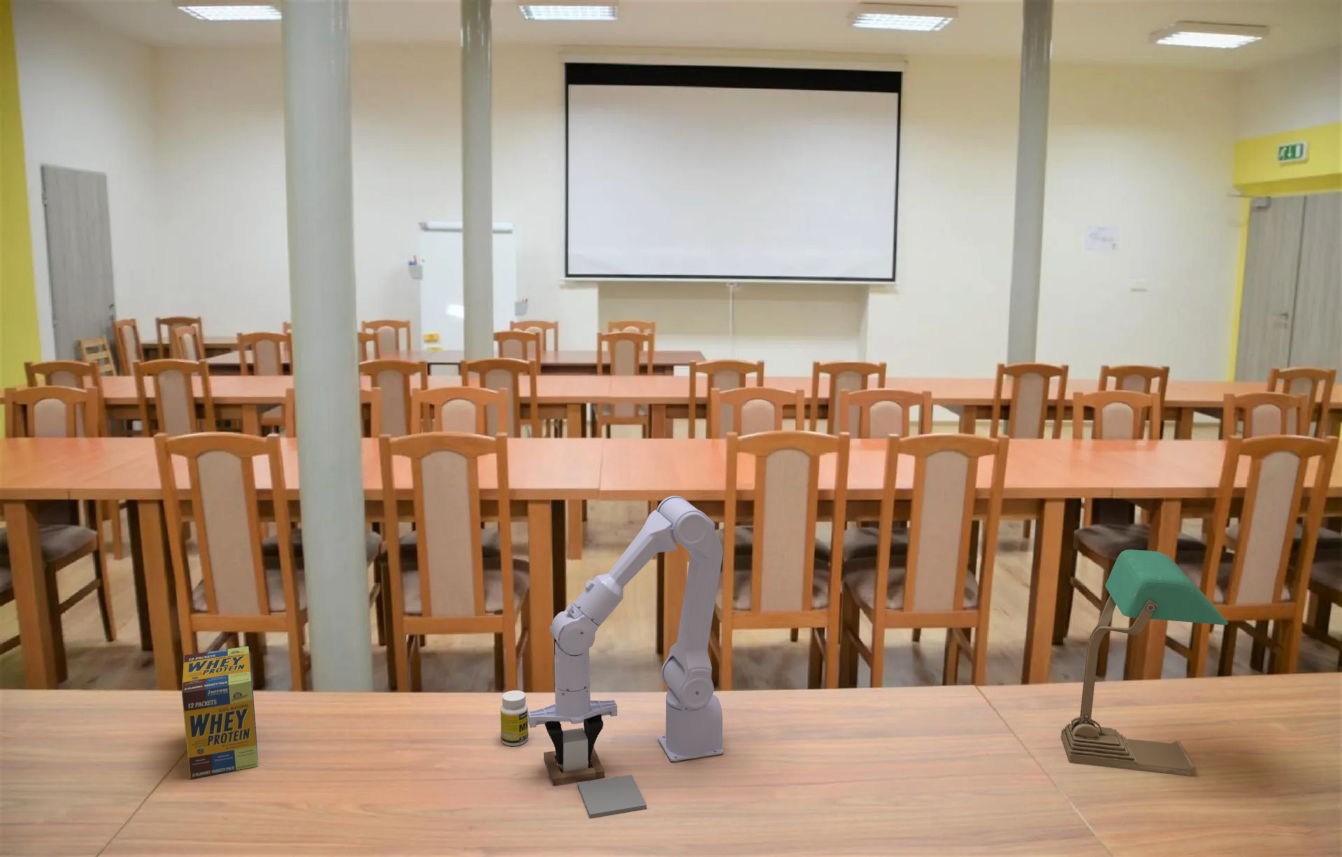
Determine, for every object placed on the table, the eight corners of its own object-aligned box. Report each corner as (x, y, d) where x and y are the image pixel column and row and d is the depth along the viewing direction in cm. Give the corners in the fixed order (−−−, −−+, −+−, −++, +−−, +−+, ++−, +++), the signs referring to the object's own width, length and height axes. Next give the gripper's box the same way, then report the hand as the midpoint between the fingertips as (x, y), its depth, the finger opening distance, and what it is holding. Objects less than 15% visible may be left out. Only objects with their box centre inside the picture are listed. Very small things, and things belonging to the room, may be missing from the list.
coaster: (631, 777, 163) (631, 774, 163) (646, 808, 155) (646, 804, 155) (577, 786, 161) (577, 783, 161) (589, 818, 152) (589, 814, 152)
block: (582, 760, 169) (582, 727, 167) (588, 772, 165) (587, 739, 164) (559, 763, 167) (559, 731, 166) (564, 776, 164) (563, 743, 162)
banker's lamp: (1057, 727, 181) (1075, 543, 174) (1181, 740, 177) (1205, 552, 170) (1073, 774, 166) (1093, 574, 159) (1209, 789, 162) (1236, 584, 154)
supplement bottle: (522, 748, 172) (521, 703, 171) (497, 745, 173) (495, 700, 171) (532, 734, 177) (531, 690, 175) (506, 731, 178) (505, 687, 176)
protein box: (189, 780, 162) (180, 692, 158) (191, 736, 175) (183, 653, 172) (259, 767, 166) (252, 680, 163) (255, 724, 180) (249, 643, 176)
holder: (593, 751, 171) (593, 745, 171) (604, 777, 163) (604, 771, 163) (543, 758, 169) (543, 752, 169) (553, 785, 161) (553, 779, 161)
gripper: (532, 700, 157) (534, 778, 160) (621, 688, 161) (621, 765, 164) (525, 680, 164) (527, 756, 167) (611, 670, 168) (611, 743, 171)
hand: (573, 759), depth 166 cm, fingers closed on block, 4 cm apart
